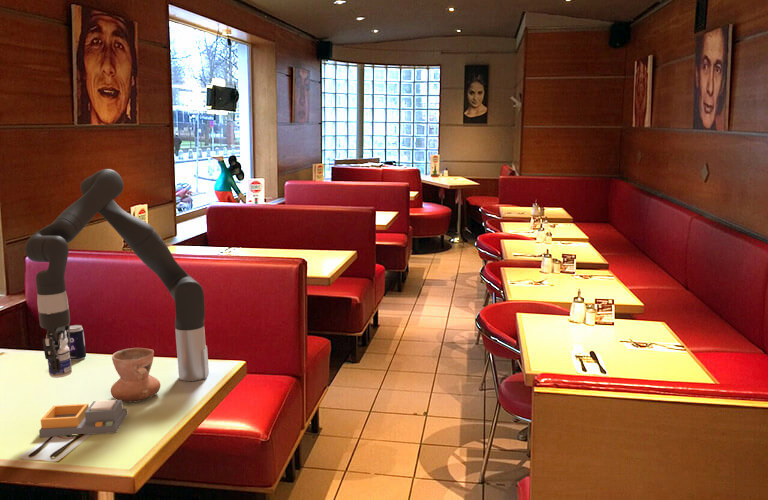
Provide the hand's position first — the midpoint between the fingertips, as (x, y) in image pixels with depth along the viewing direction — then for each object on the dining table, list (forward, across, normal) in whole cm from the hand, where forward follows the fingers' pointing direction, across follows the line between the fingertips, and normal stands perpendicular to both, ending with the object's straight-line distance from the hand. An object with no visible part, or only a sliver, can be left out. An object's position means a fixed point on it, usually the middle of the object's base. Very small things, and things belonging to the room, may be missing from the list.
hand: (60, 367), depth 194 cm
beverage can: (+18, -60, -16) cm, 64 cm away
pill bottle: (+2, 0, 0) cm, 2 cm away
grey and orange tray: (+17, 0, +5) cm, 18 cm away
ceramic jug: (+18, -20, +14) cm, 30 cm away
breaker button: (+15, 0, +11) cm, 19 cm away
